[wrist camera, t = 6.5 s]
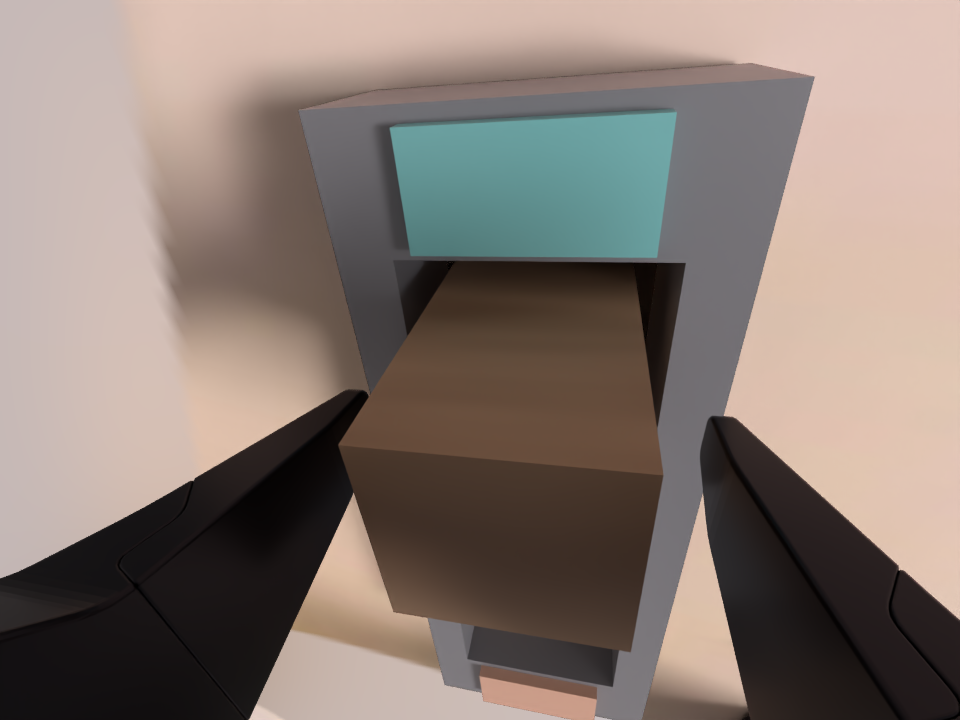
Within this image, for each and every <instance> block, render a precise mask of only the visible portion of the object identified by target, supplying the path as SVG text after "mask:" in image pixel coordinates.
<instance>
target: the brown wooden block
mask: <svg viewBox="0 0 960 720" xmlns="http://www.w3.org/2000/svg"><path fill="white" fill-rule="evenodd" d="M338 446H339V449H340V452H341V455H342V458H343V461H344V464H345V467H346V470H347V473H348V476H349V479H350V482H351V485H352V488H353V491H354V494H355V497H356V500H357V503H358V506H359V509H360V512H361V515H362V518H363V521H364V524H365V527H366V530H367V533H368V536H369V539H370V542H371V545H372V548H373V551H374V554H375V557H376V560H377V563H378V566H379V569H380V573H381V576H382V579H383V582H384V585H385V588H386V591H387V594H388V597H389V600H390V603H391V606H392V609H393V612H396V613H402V614H408V615H414V616H420V617H426V618H432V619H438V620H443V621H449V622H455V623H461V624H467V625H473V626H479V627H484V628H490V629H496V630H502V631H508V632H514V633H520V634H526V635H531V636H537V637H543V638H549V639H555V640H561V641H567V642H572V643H578V644H584V645H590V646H596V647H602V648H608V649H614V650H619V651H625V652H631V649H632V643H633V638H634V632H635V627H636V622H637V616H638V611H639V605H640V600H641V595H642V589H643V584H644V578H645V573H646V568H647V562H648V557H649V551H650V546H651V541H652V535H653V530H654V525H655V519H656V514H657V508H658V503H659V498H660V492H661V487H662V481H663V476H664V475H663V468H662V460H661V453H660V446H659V439H658V432H657V425H656V418H655V411H654V404H653V397H652V390H651V383H650V376H649V369H648V362H647V355H646V348H645V341H644V334H643V327H642V320H641V313H640V306H639V299H638V292H637V285H636V277H635V270H634V263H633V262H538V261H455V263H454V264H453V266H452V267H451V269H450V270H449V272H448V274H447V275H446V277H445V278H444V280H443V281H442V283H441V284H440V286H439V288H438V289H437V291H436V292H435V294H434V295H433V297H432V299H431V300H430V302H429V303H428V305H427V306H426V308H425V310H424V311H423V313H422V314H421V316H420V317H419V319H418V321H417V322H416V324H415V325H414V327H413V328H412V330H411V332H410V333H409V335H408V336H407V338H406V339H405V341H404V343H403V344H402V346H401V347H400V349H399V350H398V352H397V354H396V355H395V357H394V358H393V360H392V361H391V363H390V365H389V366H388V368H387V369H386V371H385V372H384V374H383V376H382V377H381V379H380V380H379V382H378V383H377V385H376V387H375V388H374V390H373V391H372V393H371V394H370V396H369V398H368V399H367V401H366V402H365V404H364V405H363V407H362V408H361V410H360V412H359V413H358V415H357V416H356V418H355V419H354V421H353V423H352V424H351V426H350V427H349V429H348V430H347V432H346V434H345V435H344V437H343V438H342V440H341V441H340V443H339V445H338Z"/></svg>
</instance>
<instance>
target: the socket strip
mask: <svg viewBox="0 0 960 720" xmlns="http://www.w3.org/2000/svg"><path fill="white" fill-rule="evenodd" d="M813 81H814V76H809V75H804V74H800V73H795V72H790V71H786V70H781V69H776V68H772V67H767V66H762V65H758V64H753V63H746V64H732V65H718V66H704V67H691V68H677V69H663V70H649V71H635V72H621V73H608V74H594V75H580V76H566V77H552V78H538V79H525V80H511V81H497V82H483V83H469V84H455V85H441V86H428V87H414V88H400V89H386V90H374V91H370V92H367V93H363V94H359V95H355V96H351V97H347V98H344V99H340V100H336V101H332V102H328V103H324V104H320V105H317V106H313V107H309V108H305V109H301V110H298V111H299V115H300V119H301V123H302V127H303V131H304V135H305V139H306V143H307V147H308V151H309V155H310V158H311V162H312V166H313V170H314V174H315V178H316V182H317V186H318V190H319V194H320V198H321V202H322V206H323V209H324V213H325V217H326V221H327V225H328V229H329V233H330V237H331V241H332V245H333V249H334V253H335V257H336V260H337V264H338V268H339V272H340V276H341V280H342V284H343V288H344V292H345V296H346V300H347V304H348V308H349V311H350V315H351V319H352V323H353V327H354V331H355V335H356V339H357V343H358V347H359V351H360V355H361V359H362V362H363V366H364V370H365V374H366V378H367V382H368V386H369V390H370V394H371V393H372V391H373V390H374V388H375V387H376V385H377V383H378V382H379V380H380V379H381V377H382V376H383V374H384V372H385V371H386V369H387V368H388V366H389V365H390V363H391V361H392V360H393V358H394V357H395V355H396V354H397V352H398V350H399V349H400V347H401V346H402V344H403V343H404V341H405V339H406V338H407V336H408V335H409V333H410V332H411V330H412V328H413V327H414V325H415V324H416V322H417V321H418V319H419V317H420V316H421V314H422V313H423V311H424V310H425V308H426V306H427V305H428V303H429V302H430V300H431V299H432V297H433V295H434V294H435V292H436V291H437V289H438V288H439V286H440V284H441V283H442V281H443V280H444V278H445V277H446V275H447V274H448V265H447V261H538V262H649V263H657V266H656V274H655V281H654V288H653V296H652V303H651V310H650V318H649V325H648V332H647V339H646V347H645V348H646V355H647V362H648V369H649V376H650V383H651V390H652V397H653V404H654V411H655V418H656V425H657V432H658V439H659V446H660V453H661V460H662V468H663V475H664V476H663V481H662V487H661V492H660V498H659V503H658V508H657V514H656V519H655V525H654V530H653V535H652V541H651V546H650V551H649V557H648V562H647V568H646V573H645V578H644V584H643V589H642V595H641V600H640V605H639V611H638V616H637V622H636V627H635V632H634V638H633V643H632V649H631V652H625V651H619V650H614V649H608V648H602V647H596V646H590V645H584V644H578V643H572V642H567V641H561V640H555V639H549V638H543V637H537V636H531V635H526V634H520V633H514V632H508V631H502V630H496V629H490V628H484V627H479V626H473V625H467V624H461V623H455V622H449V621H443V620H438V619H432V618H428V621H429V625H430V629H431V633H432V637H433V641H434V645H435V649H436V653H437V657H438V661H439V665H440V668H441V672H442V676H443V680H444V684H445V685H447V686H452V687H457V688H462V689H467V690H472V691H476V692H481V693H482V695H483V701H485V702H491V703H495V704H500V705H504V706H509V707H514V708H519V709H524V710H528V711H533V712H538V713H543V714H547V715H552V716H557V717H562V718H567V719H571V720H594V717H595V716H598V717H603V718H607V719H612V720H642V717H643V713H644V710H645V706H646V702H647V698H648V695H649V691H650V687H651V684H652V680H653V676H654V672H655V669H656V665H657V661H658V658H659V654H660V650H661V646H662V643H663V639H664V635H665V631H666V628H667V624H668V620H669V617H670V613H671V609H672V605H673V602H674V598H675V594H676V591H677V587H678V583H679V579H680V576H681V572H682V568H683V565H684V561H685V557H686V553H687V550H688V546H689V542H690V538H691V535H692V531H693V527H694V524H695V520H696V516H697V512H698V509H699V505H700V501H701V498H702V494H703V486H702V476H701V467H700V449H701V444H702V440H703V436H704V432H705V428H706V424H707V420H708V419H709V417H711V416H724V412H725V408H726V405H727V401H728V397H729V393H730V390H731V386H732V382H733V379H734V375H735V371H736V367H737V364H738V360H739V356H740V352H741V349H742V345H743V341H744V338H745V334H746V330H747V326H748V323H749V319H750V315H751V312H752V308H753V304H754V300H755V297H756V293H757V289H758V286H759V282H760V278H761V274H762V271H763V267H764V263H765V259H766V256H767V252H768V248H769V245H770V241H771V237H772V233H773V230H774V226H775V222H776V219H777V215H778V211H779V207H780V204H781V200H782V196H783V193H784V189H785V185H786V181H787V178H788V174H789V170H790V166H791V163H792V159H793V155H794V152H795V148H796V144H797V140H798V137H799V133H800V129H801V126H802V122H803V118H804V114H805V111H806V107H807V103H808V100H809V96H810V92H811V88H812V85H813Z"/></svg>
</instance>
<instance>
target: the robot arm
mask: <svg viewBox="0 0 960 720" xmlns="http://www.w3.org/2000/svg"><path fill="white" fill-rule="evenodd" d="M368 398H369V396H368V394H367V392H365V391H363V390H351V389H349V390H345V391H343V392H342V393H340V394H338V395H337V396H335V397H333V398H331V399H330V400H328V401H326V402H325V403H323V404H321V405H320V406H318V407H316V408H314V409H313V410H311V411H309V412H308V413H306V414H304V415H302V416H301V417H299V418H297V419H296V420H294V421H292V422H290V423H289V424H287V425H285V426H284V427H282V428H280V429H278V430H277V431H275V432H273V433H272V434H270V435H268V436H266V437H265V438H263V439H261V440H260V441H258V442H256V443H254V444H253V445H251V446H249V447H248V448H246V449H244V450H242V451H241V452H239V453H237V454H236V455H234V456H232V457H231V458H229V459H227V460H225V461H224V462H222V463H220V464H219V465H217V466H215V467H213V468H212V469H210V470H208V471H207V472H205V473H203V474H201V475H200V476H198V477H196V478H195V479H194V481H189V482H188V483H186V484H184V485H183V486H181V487H179V488H177V489H176V490H174V491H172V492H171V493H169V494H167V495H165V496H163V497H162V498H160V499H158V500H156V501H155V502H153V503H151V504H149V505H147V506H146V507H144V508H142V509H140V510H138V511H136V512H134V513H133V514H131V515H129V516H127V517H125V518H123V519H121V520H119V521H118V522H115V523H114V524H112V525H110V526H108V527H106V528H104V529H102V530H100V531H98V532H96V533H94V534H92V535H90V536H88V537H86V538H84V539H82V540H80V541H78V542H76V543H75V544H73V545H71V546H69V547H67V548H65V549H63V550H61V551H59V552H57V553H55V554H53V555H51V556H49V557H47V558H45V559H43V560H41V561H39V562H37V563H35V564H34V565H31V566H29V567H27V568H25V569H23V570H21V571H19V572H16V573H14V574H11V575H9V576H6V577H3V578H0V720H249V718H250V717H251V714H252V712H253V710H254V708H255V706H256V704H257V701H258V699H259V697H260V695H261V693H262V691H263V688H264V686H265V684H266V682H267V680H268V678H269V675H270V673H271V671H272V669H273V667H274V665H275V662H276V660H277V658H278V656H279V654H280V652H281V649H282V647H283V645H284V643H285V641H286V638H287V636H288V634H289V632H290V630H291V628H292V626H293V623H294V621H295V619H296V617H297V615H298V613H299V610H300V608H301V606H302V604H303V602H304V600H305V597H306V595H307V593H308V591H309V589H310V587H311V584H312V582H313V580H314V578H315V576H316V574H317V571H318V569H319V567H320V565H321V563H322V561H323V558H324V556H325V554H326V552H327V550H328V548H329V545H330V543H331V541H332V539H333V537H334V535H335V532H336V530H337V528H338V526H339V524H340V522H341V519H342V517H343V515H344V513H345V511H346V509H347V506H348V504H349V502H350V500H351V497H352V495H353V493H354V491H353V488H352V485H351V482H350V479H349V476H348V473H347V470H346V467H345V464H344V461H343V458H342V455H341V452H340V449H339V446H338V445H339V443H340V441H341V440H342V438H343V437H344V435H345V434H346V432H347V430H348V429H349V427H350V426H351V424H352V423H353V421H354V419H355V418H356V416H357V415H358V413H359V412H360V410H361V408H362V407H363V405H364V404H365V402H366V401H367V399H368ZM700 467H701V476H702V486H703V496H704V505H705V515H706V524H707V532H708V539H709V544H710V549H711V553H712V557H713V562H714V566H715V570H716V574H717V579H718V583H719V587H720V591H721V596H722V600H723V604H724V608H725V613H726V617H727V621H728V625H729V630H730V634H731V638H732V643H733V647H734V651H735V655H736V660H737V664H738V668H739V672H740V677H741V681H742V685H743V689H744V694H745V698H746V702H747V706H748V711H749V715H750V717H745V718H744V719H743V720H960V620H959V619H958V618H957V617H956V616H955V615H954V614H952V613H951V612H950V611H949V610H948V609H947V608H946V607H944V606H943V605H942V604H941V603H940V602H939V601H938V600H936V599H935V598H934V597H933V596H932V595H931V594H929V593H928V592H927V591H926V590H925V589H924V588H923V587H922V586H921V585H920V584H918V583H917V582H916V581H915V580H914V579H913V578H912V577H911V576H910V575H908V574H907V573H906V572H905V571H903V570H899V566H898V565H897V564H896V563H895V562H894V561H893V560H892V559H891V558H889V557H888V556H887V555H886V554H885V553H884V552H883V551H882V550H881V549H880V548H878V547H877V546H876V545H875V544H874V543H873V542H872V541H871V540H870V539H868V538H867V537H866V536H865V535H864V534H863V533H862V532H861V531H860V530H859V529H857V528H856V527H855V526H854V525H853V524H852V523H851V522H850V521H849V520H848V519H846V518H845V517H844V516H843V515H842V514H841V513H840V512H839V511H838V510H836V509H835V508H834V507H833V506H832V505H831V504H830V503H829V502H828V501H827V500H825V499H824V498H823V497H822V496H821V495H820V494H819V493H818V492H817V491H816V490H814V489H813V488H812V487H811V486H810V485H809V484H808V483H807V482H806V481H804V480H803V479H802V478H801V477H800V476H799V475H798V474H797V473H796V472H795V471H793V470H792V469H791V468H790V467H789V466H788V465H787V464H786V463H785V462H784V461H782V460H781V459H780V458H779V457H778V456H777V455H776V454H775V453H774V452H772V451H771V450H770V449H769V448H768V447H767V446H766V445H765V444H764V443H763V442H761V441H760V440H759V439H758V438H757V437H756V436H755V435H754V434H753V433H752V432H750V431H749V430H748V429H747V428H746V427H745V426H744V425H743V424H742V423H741V422H739V421H738V420H737V419H736V418H734V417H727V416H711V417H709V419H708V420H707V424H706V428H705V432H704V436H703V440H702V444H701V449H700Z"/></svg>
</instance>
